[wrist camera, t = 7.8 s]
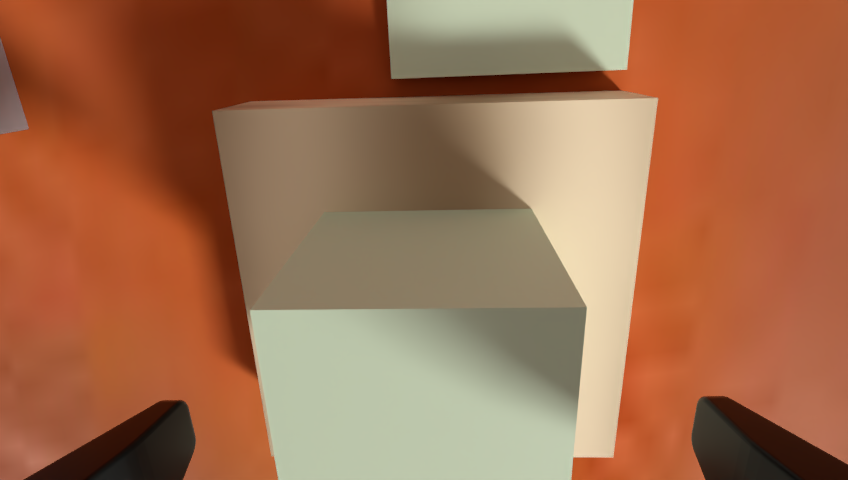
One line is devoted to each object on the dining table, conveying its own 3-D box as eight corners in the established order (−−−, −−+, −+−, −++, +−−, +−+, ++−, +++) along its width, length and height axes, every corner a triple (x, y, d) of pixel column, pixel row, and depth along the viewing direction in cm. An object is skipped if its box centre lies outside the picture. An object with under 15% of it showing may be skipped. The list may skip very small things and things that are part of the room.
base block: (298, 392, 18) (271, 456, 15) (257, 99, 14) (212, 110, 12) (585, 392, 17) (613, 457, 14) (614, 89, 14) (658, 97, 11)
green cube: (341, 384, 14) (290, 550, 9) (324, 212, 12) (249, 310, 8) (523, 384, 14) (564, 554, 9) (531, 208, 12) (587, 307, 7)
